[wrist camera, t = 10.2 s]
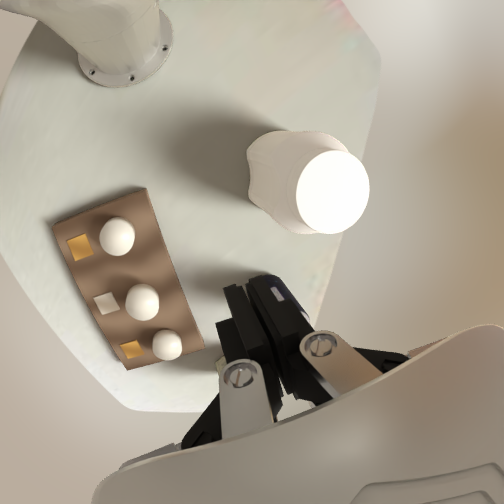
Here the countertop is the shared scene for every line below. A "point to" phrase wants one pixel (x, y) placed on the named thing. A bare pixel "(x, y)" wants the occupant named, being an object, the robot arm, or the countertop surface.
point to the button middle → (142, 302)
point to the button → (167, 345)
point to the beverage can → (282, 292)
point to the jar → (307, 181)
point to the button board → (127, 278)
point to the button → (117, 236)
